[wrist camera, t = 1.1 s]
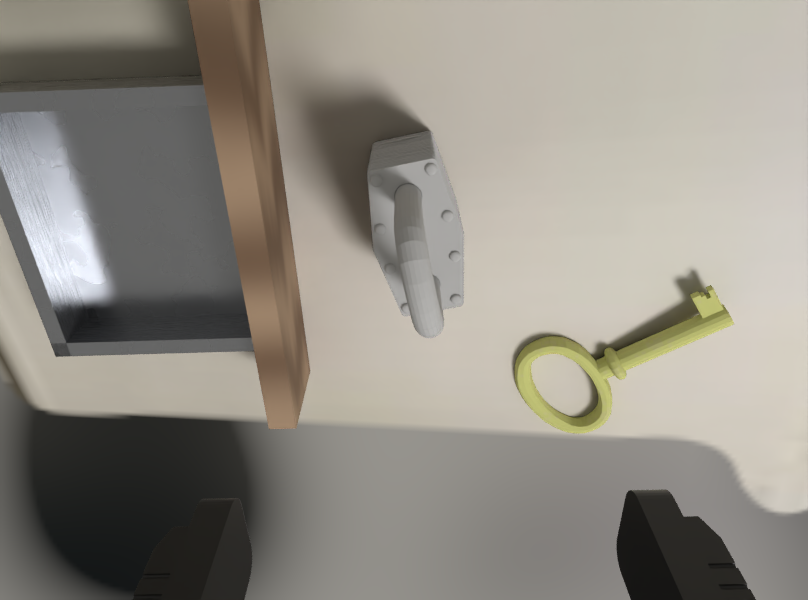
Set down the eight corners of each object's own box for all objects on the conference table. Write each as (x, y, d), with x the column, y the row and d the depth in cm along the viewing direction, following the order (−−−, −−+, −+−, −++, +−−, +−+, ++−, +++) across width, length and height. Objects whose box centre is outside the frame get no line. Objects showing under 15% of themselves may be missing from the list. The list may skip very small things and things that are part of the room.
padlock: (360, 143, 28) (340, 218, 19) (443, 126, 28) (460, 194, 19) (392, 273, 31) (387, 388, 23) (466, 259, 31) (491, 370, 22)
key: (729, 298, 32) (749, 318, 31) (572, 433, 37) (580, 457, 35) (640, 225, 30) (655, 241, 29) (486, 377, 35) (490, 400, 33)
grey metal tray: (-2, 83, 27) (-46, 94, 24) (238, 74, 26) (219, 84, 24) (83, 326, 33) (55, 356, 30) (278, 320, 33) (267, 350, 30)
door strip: (224, -14, 25) (185, -13, 20) (256, -15, 25) (225, -14, 20) (286, 371, 34) (269, 428, 30) (310, 371, 34) (296, 428, 30)
